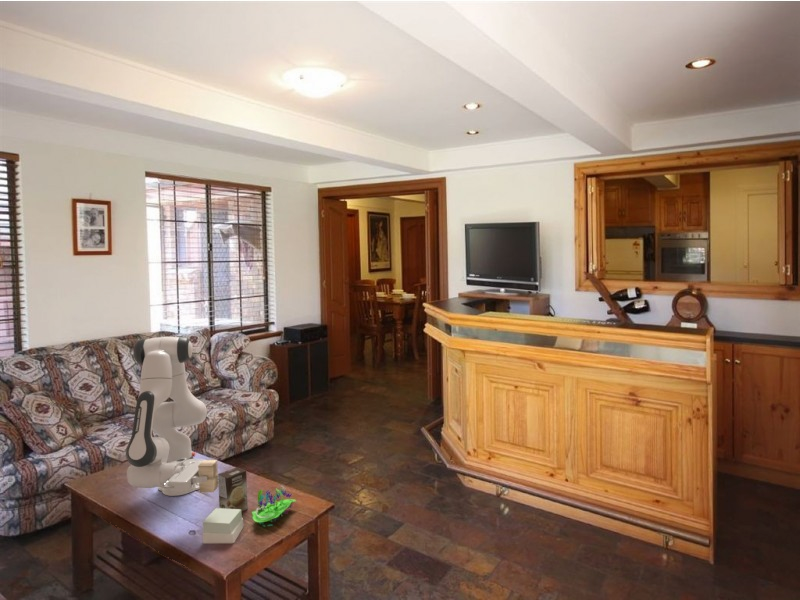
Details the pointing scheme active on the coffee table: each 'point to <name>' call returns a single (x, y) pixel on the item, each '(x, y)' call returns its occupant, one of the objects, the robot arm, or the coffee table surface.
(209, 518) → the top slab
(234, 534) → the bottom slab
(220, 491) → the coffee box
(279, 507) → the diorama
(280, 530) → the coffee table surface
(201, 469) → the birch block
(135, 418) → the robot arm
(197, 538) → the coffee table surface
